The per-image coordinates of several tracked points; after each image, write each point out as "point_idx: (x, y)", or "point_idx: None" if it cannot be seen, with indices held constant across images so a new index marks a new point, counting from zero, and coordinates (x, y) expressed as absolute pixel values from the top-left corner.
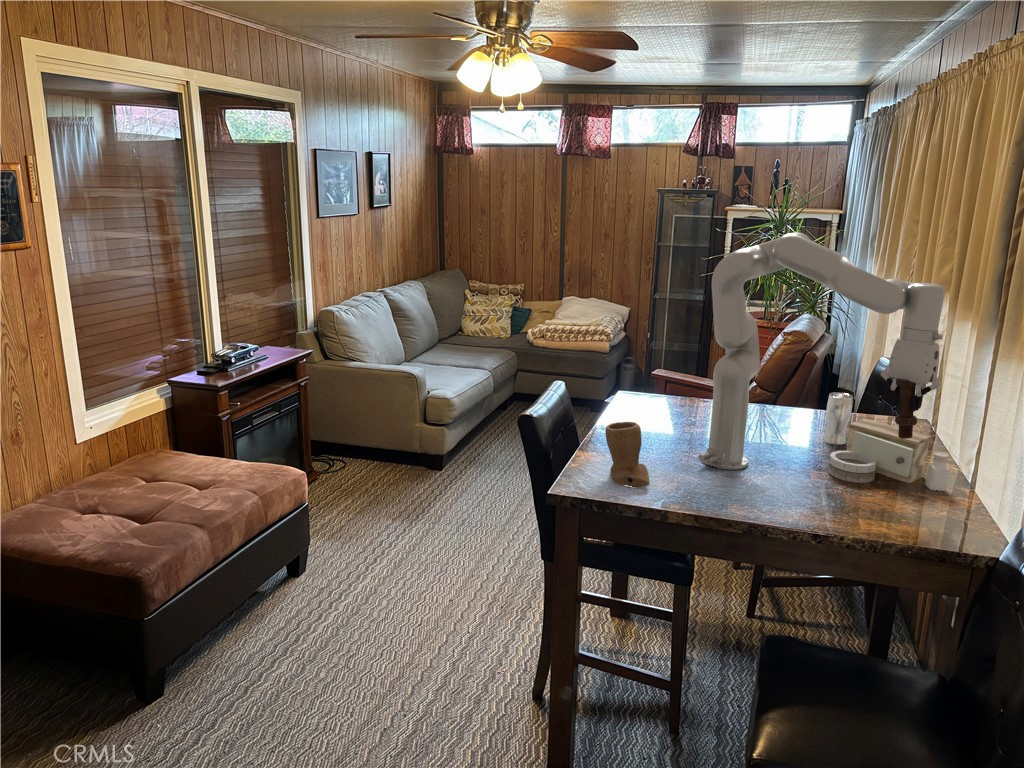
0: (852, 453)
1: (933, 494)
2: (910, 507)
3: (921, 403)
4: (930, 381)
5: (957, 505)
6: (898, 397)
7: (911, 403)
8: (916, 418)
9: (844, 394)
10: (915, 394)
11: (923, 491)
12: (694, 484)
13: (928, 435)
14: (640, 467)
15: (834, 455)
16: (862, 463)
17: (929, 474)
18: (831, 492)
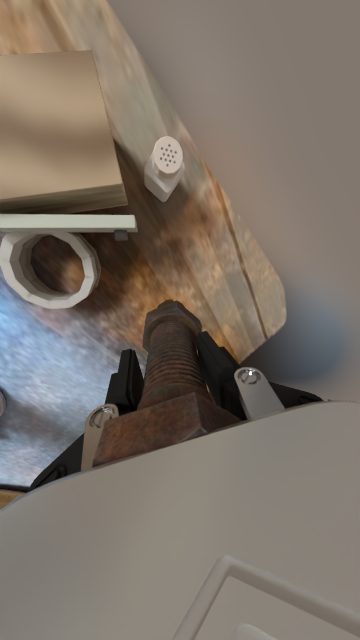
0: (17, 241)
1: (175, 215)
2: (187, 292)
3: (229, 355)
4: (325, 401)
5: (214, 224)
6: (139, 390)
7: (209, 389)
8: (201, 329)
9: None
10: (228, 411)
11: (161, 218)
12: (44, 454)
13: (83, 57)
14: (5, 505)
15: (26, 291)
16: (47, 234)
17: (155, 188)
18: (113, 344)
